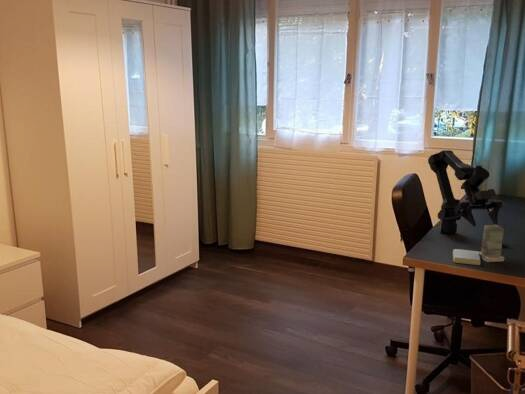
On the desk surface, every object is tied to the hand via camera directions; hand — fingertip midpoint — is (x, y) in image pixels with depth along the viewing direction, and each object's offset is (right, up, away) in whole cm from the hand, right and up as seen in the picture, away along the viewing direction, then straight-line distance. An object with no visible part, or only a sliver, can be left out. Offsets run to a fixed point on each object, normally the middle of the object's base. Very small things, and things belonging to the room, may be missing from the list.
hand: (485, 225), depth 194 cm
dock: (-9, -13, -3) cm, 16 cm away
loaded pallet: (+1, -13, -2) cm, 13 cm away
